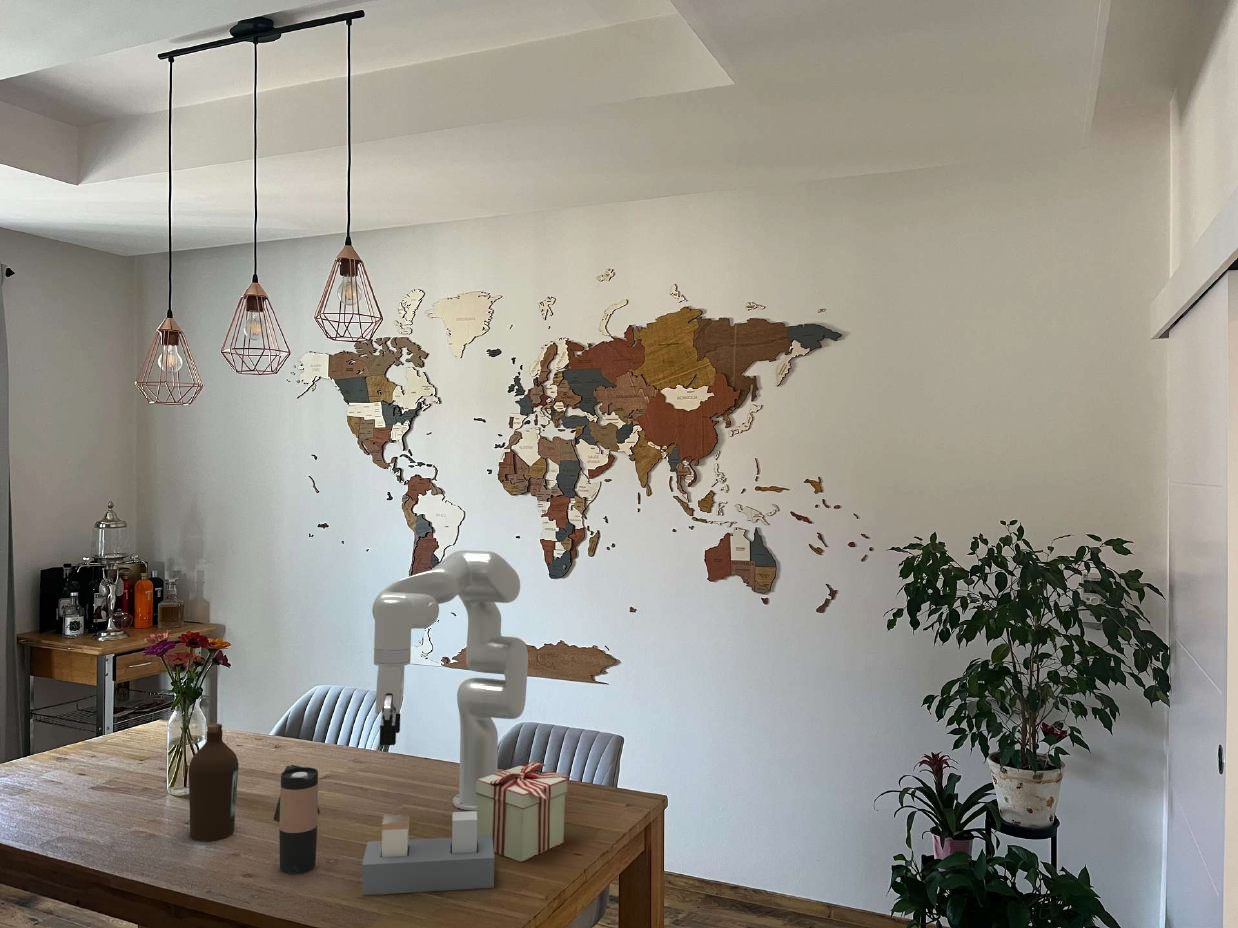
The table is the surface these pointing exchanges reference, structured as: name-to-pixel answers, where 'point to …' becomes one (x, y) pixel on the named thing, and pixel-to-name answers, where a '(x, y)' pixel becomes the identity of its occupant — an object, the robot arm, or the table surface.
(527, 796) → the gift box
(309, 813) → the travel mug
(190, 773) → the olive oil
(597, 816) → the table surface
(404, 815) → the cream plug
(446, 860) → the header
